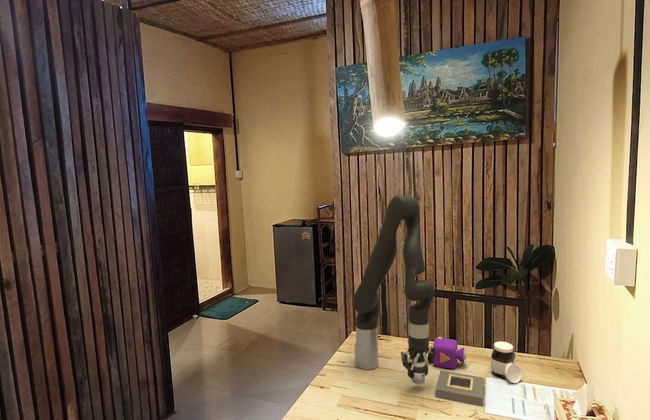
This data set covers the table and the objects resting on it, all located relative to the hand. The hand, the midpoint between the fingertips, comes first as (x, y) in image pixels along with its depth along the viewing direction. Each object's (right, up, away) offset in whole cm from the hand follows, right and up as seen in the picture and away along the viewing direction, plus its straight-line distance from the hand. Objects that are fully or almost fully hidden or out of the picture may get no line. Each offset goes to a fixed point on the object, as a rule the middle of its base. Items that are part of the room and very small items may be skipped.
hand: (418, 376), depth 148 cm
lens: (0, -2, 0) cm, 2 cm away
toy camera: (+17, -3, +18) cm, 25 cm away
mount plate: (+15, -5, -2) cm, 16 cm away
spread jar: (+37, -3, +7) cm, 38 cm away
